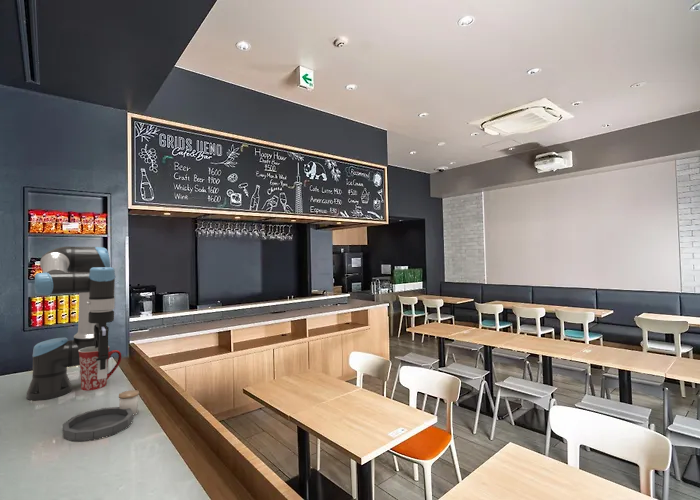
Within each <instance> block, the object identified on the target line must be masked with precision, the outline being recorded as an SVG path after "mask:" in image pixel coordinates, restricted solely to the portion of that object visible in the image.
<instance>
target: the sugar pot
mask: <svg viewBox="0 0 700 500" xmlns="http://www.w3.org/2000/svg"><path fill="white" fill-rule="evenodd" d="M139 394H140V391H139V390H136V389H132V390H131V389H129V390H124V391H122V392H120V393H119V394H118V398H119V406H118V407H119V408H120V409H131V410H132V412H133V414H135V415H137V414H138V413H137V412H138V411H139V408H138V407H139V405H138V403H139V401H138V400H139ZM136 413H137V414H136Z"/></svg>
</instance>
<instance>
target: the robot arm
mask: <svg viewBox="0 0 700 500" xmlns="http://www.w3.org/2000/svg"><path fill="white" fill-rule="evenodd" d="M39 266H40V268H41V270H42V272H39V273H36V274H35V275H34V293H35V294H36V295H60V294H61V295H64V294H78V322H77V325H78V326H77V328H78V329H77V332H76V333H75V334H74V335H73V340H71V339H70V340H69V339H68V338H67V337H57V338H51V339H47V340H44V341H41V342H38V343H36V344H35V345H34V346H33V348H32V349H33V351H32V378H31V381H30V383H29V386H28V388H27V391H26V394H25V396H26V400H30V401H42V400H43V401H44V400H49V399H53V398H54V399H55V398H59V397H61V396H64V395H66V394H68V393H70V392H71V391H72V383H71V381H70V378H69V375H68V370H67V369H68V368H71V367H78V366H79V367H80V361H79V352H78V350H80V349H82V348H86V347H91V346H95V348H97V347H98V358H97V359H96V361H98V364H97V380H98V379H104V378H107V374H108V369H107V358H108V357H109V356H108V346H109V332H110V331H109V330H110V328H109V326H107V323H111V322H114V320H115V311H114V310H115V306H116V304H115V303H116V302H115V300H116V299H115V285H116V283H115V282H116V281H115V280H116V270H115V268H114V267H111V259H110V254H109V250H108V249H107V248H105V247H104V246H103V247H101V246H68V245H67V246H60V247H56V248H54V249H51V250H49V251H47V252H45V253H44V254H43V255H42V256H41V258H40V261H39ZM102 355H103V356H102Z"/></svg>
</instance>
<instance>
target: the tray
mask: <svg viewBox="0 0 700 500" xmlns="http://www.w3.org/2000/svg"><path fill="white" fill-rule="evenodd" d="M133 420H134V415H133V412H132V410H131V409H120V408H119V406H112V407H110V406H109V407H101V408H98V409H97V408H96V409H93V410H89V411H85V412H83V413H80V414H77V415H75V416H72V417H70V418H69V419H68V420H67V421H65V422H64V423H63V424H62V437H63V439H65V440H66V441H69V442H78V443H79V442H80V443H81V442H90V441H89V440H91V441H95V440H94V439H97V440H100V439H99V438H101V439H103V438H102V437H105V438H107V437H106V436H108V437H110V436H109V435H111V436H113V435H112V434H114V435H116V434H118V433H117V432H119V431H121V430H123V429H124V430H126V429H127V428H129V427H130V426H131V425H132V423H133ZM131 422H132V423H131ZM130 424H131V425H130ZM129 425H130V426H129ZM128 426H129V427H128ZM126 427H127V428H126ZM125 428H126V429H125ZM124 430H123V431H124ZM121 432H122V431H121ZM115 433H116V434H115ZM119 433H120V432H119Z"/></svg>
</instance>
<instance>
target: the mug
mask: <svg viewBox="0 0 700 500" xmlns="http://www.w3.org/2000/svg"><path fill="white" fill-rule="evenodd" d="M78 352H79V361H80V365H79V373H80V376H79V377H80V390H81V391H85V392H87V391H88V392H89V391H95V390H99V389H103V388H105V387H107V384H108V380H109V378H110V377H111V376H112V375H113V374H114V372H116V370H117V369H118V367H119V365H120V363H121V362H122V353H121V352H120V350H118V349H113V350H111V351H110V346H109V345H108V356H109V357H108V358H107V370H108V367H109V359H111V357H112V354H114V353H115V354H117V355H118V359H117V362H116V363H115V365H114V367H113V368H112V369H111V370H110V371H109V373H108V372H107V378H104V379H98V380H97V364H98V361H96V359H97V358H98V347H97V348H95V346H91V347H86V348H82V349H80V350H78ZM102 356H103V355H102Z"/></svg>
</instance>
